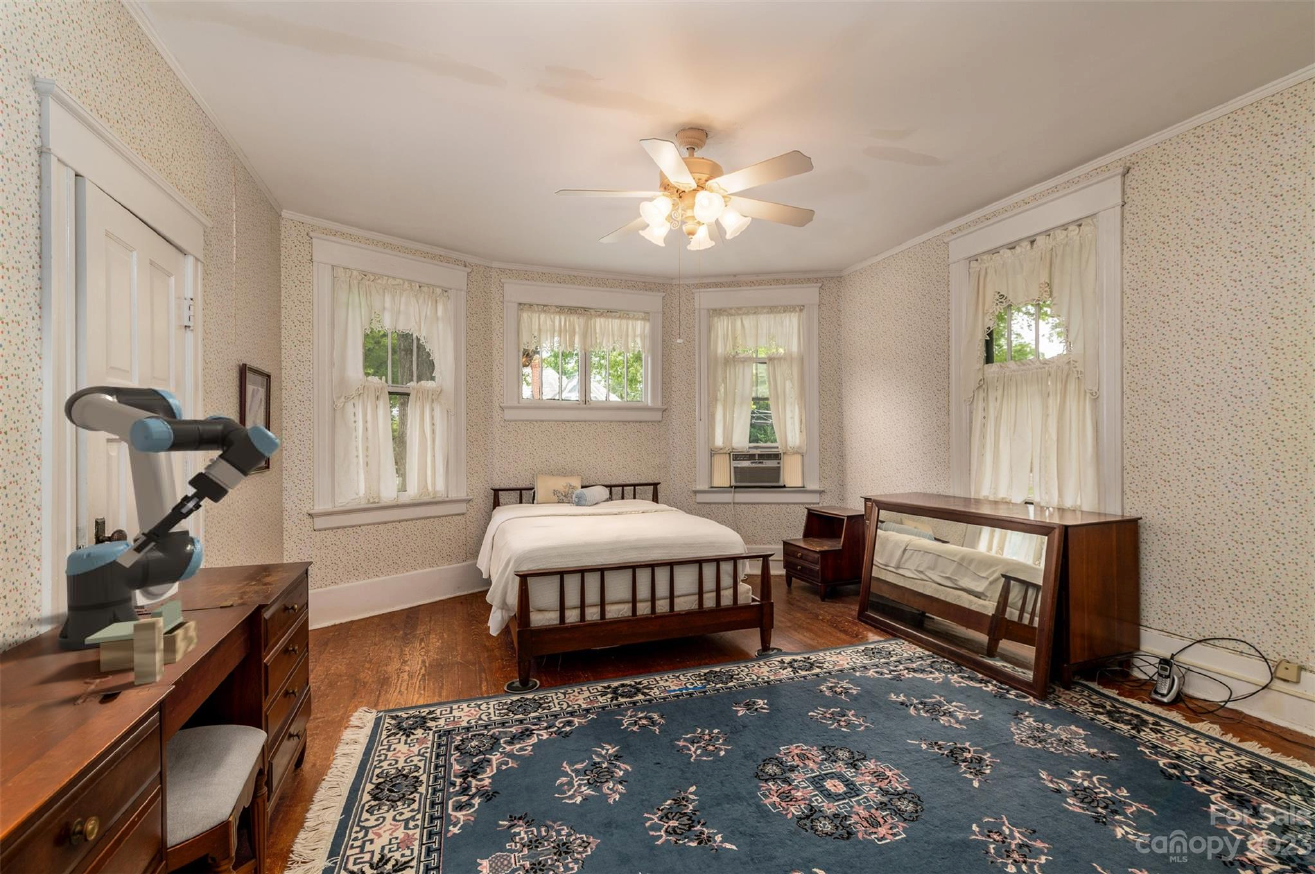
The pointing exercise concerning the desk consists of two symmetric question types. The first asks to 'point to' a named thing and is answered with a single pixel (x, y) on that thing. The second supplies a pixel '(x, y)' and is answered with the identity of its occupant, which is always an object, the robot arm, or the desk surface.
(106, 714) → the desk surface
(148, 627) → the block
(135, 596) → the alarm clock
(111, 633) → the lid
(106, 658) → the light wooden box
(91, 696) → the key
